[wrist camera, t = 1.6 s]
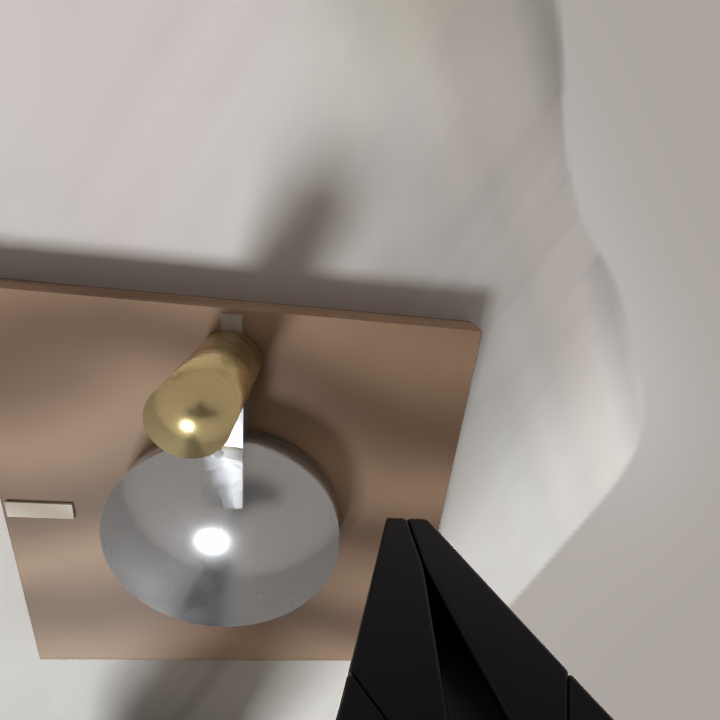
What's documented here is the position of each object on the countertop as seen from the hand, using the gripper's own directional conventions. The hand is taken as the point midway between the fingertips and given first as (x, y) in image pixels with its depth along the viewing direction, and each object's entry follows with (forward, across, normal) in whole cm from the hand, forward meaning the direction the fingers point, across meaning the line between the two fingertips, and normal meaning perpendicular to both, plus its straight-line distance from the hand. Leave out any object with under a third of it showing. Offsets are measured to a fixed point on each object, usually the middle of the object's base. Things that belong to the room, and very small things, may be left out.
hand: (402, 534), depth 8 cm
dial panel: (+10, +5, +8) cm, 14 cm away
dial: (+9, +5, +6) cm, 12 cm away
